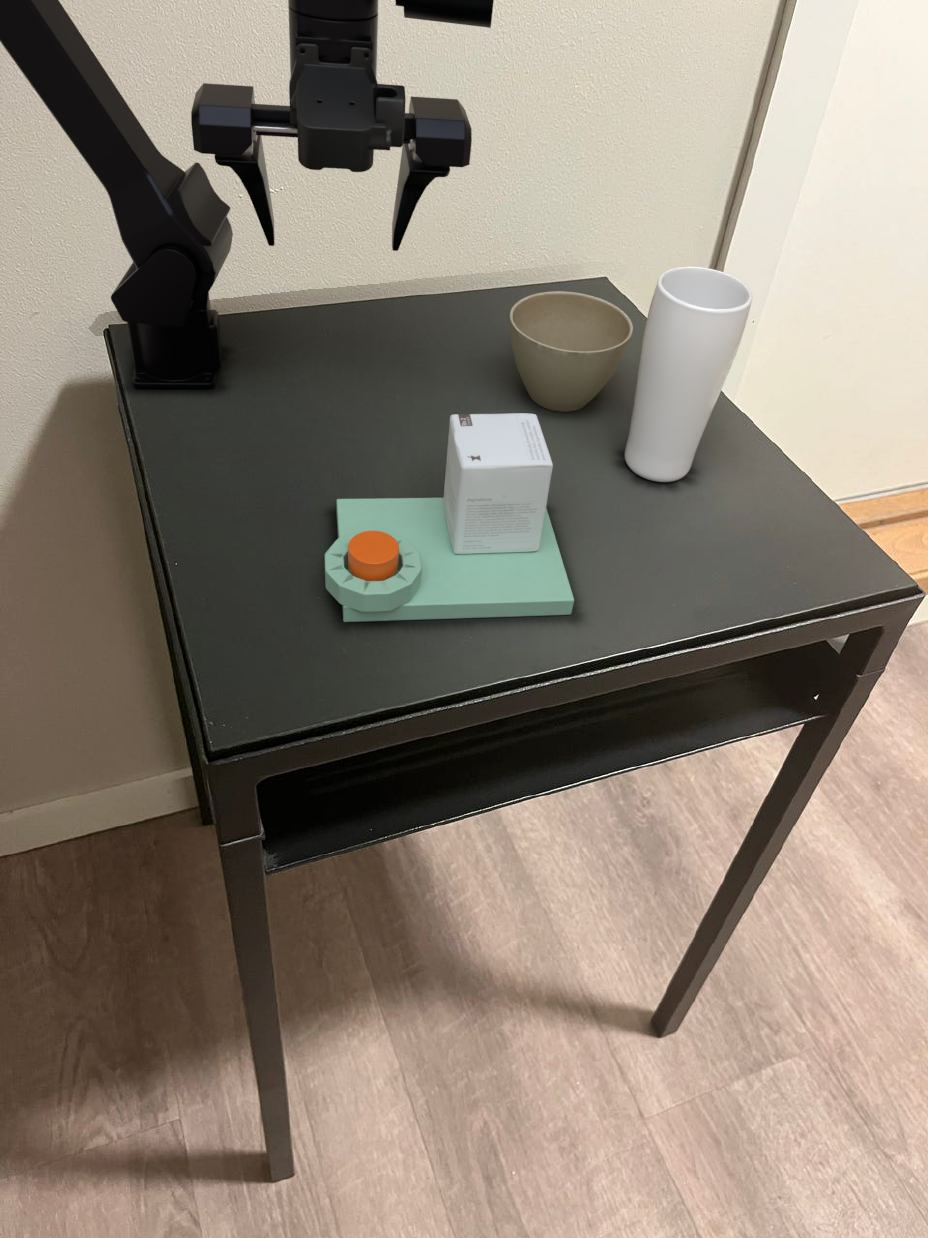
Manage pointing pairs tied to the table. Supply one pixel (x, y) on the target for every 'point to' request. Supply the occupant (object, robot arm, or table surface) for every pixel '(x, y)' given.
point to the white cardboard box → (496, 483)
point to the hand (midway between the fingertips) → (333, 246)
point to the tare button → (373, 555)
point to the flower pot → (567, 346)
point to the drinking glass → (683, 367)
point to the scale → (441, 569)
